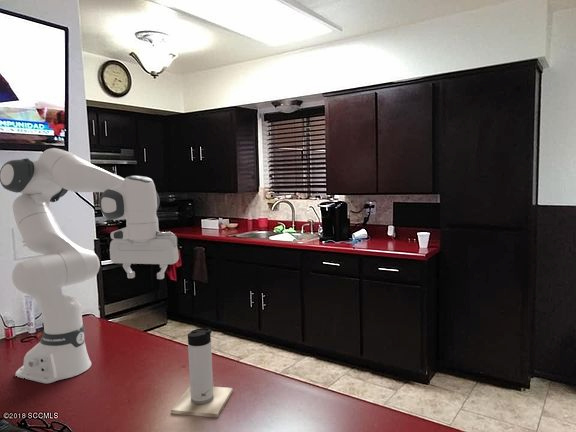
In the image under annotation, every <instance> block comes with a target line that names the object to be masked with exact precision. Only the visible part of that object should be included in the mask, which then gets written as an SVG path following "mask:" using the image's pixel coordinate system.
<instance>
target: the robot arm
mask: <svg viewBox="0 0 576 432" xmlns="http://www.w3.org/2000/svg"><path fill="white" fill-rule="evenodd" d="M0 184H1V186H2V187H3V188H4V189H5V190H7V191H10V192H13V193H16V194H18V193H20V195H19V196H17V197H16V198H15V199H14V201H13V203H12V212H13V217H14V220H15V224H16V226H17V229H18V231H19V233H20V235H21V238H22V240H23V242H24V245H25V246H26V247H27V248H28V250H30V251H32V252H34V253H36V254H41V255H39V256H33V257H31V258H27V259H25V260H22V261H20V262H18V263H16V264H15V266H14V268H13V270H12V274H11V280H12V283H13V285H14V286H15V288H16V290H18V291H20V292H21V293H23V294H25V295H28V296H29V297H31V298H32V299H34V301H35V302H36V303H37V305H38V306H39V309H40V311H41V315H42V322H43V330H42V331H41V332H38V333H36V335H37V336H36V338H40V337H41V338H40V341H39V342H38V343H37V344H36V345H34V346H33V347H32V348H31V349H30V350H28V351H27V352H26V353H25V355H24V357H23V365H22V366H21V367H19V368H18V369H17V370H16V372H15V375H14V376H15V377H16V376H17V378H21V379H24V378H25V380H30V381H34V382H38V383H42V384H51V383H55V382H56V381H60V380H64V379H69V378H73V377H75V376H78V375H81V374H82V373H84V372H86V371H88V370H89V369H90V368H91V367H92V361H91V359H90V357H89V354H88V350H87V349H88V348H87V346H86V341H85V339H86V331H85V324H84V323H83V315H82V305H81V302H80V301H79V300H78V299H77V298H76V297H73V296H69V295H66V294H65V295H64V294H63V291H62V288H63V287H67V286H71V285H76V284H80V283H83V282H86V281H87V280H91V279H92V278H94V277H97V275H98V273H99V271H100V267H101V264H100V259H99V257H98V255H97V254H96V253H95V252H94V250H91V249H89V248H84V247H83V246H80V245H78V243H76V242H74V241H73V240H71V239H70V238H68V236H67V235H66V234H65V233H64V232H63V230H62V228H61V227H60V225H59V223H58V221H57V219H56V217H55V215H54V213H53V211H52V210H51V207H50V203H55V202H56V203H57V202H58V201H59V200H60V198H62V197H64V196H65V195H66V194H67V193H68V191H69V192H73V193H102V194H101V196H100V199H99V207H100V211H101V213H102V215H104V216H105V218H107V219H109V220H113V221H119V220H126V221H125V222H126V225H125V227H121V228H120V229H117V230H114V231H112V232H110V239H111V241H110V243H109V259H110V261H111V262H112V263H113V264H122V268H123V269H124V271H125V272H126V276H127V277H126V278H128V279H134V278H135V277H136V272H135V271H134V270H133V269H132V268H131V265H132V264H133V265H137V264H139V265H142V264H143V265H159V268H160V271H159V272H157V273H156V279H157V280H163V279H165V273H166V270H167V268H168V267H169V266H168V265H174V264H176V263H178V261H179V259H180V255H179V249H178V237H177V235H176V234H174V233H173V232H171V231H165V232H164V231H160V228H159V217H158V215H157V211H158V209H159V207H160V196H159V194H158V191H157V190H156V185H155V183H154V180H153V179H152V178H150V177H148V176H143V175H129V176H126V177H125V178H124V177H122V176H120V175H117V174H115V173H113V172H110V171H108V170H105V169H104V168H101V167H99V166H97V165H95V164H93V163H90V162H89V161H87V160H85V159H83V158H81V157H79V156H78V155H75V154H74V153H72V152H70V151H67V150H64V149H60V148H56V147H52V148H47V149H46V150H44V151H43V152H41V154H40V156H39V158H38V159H37V160H30V159H29V158H21V159H11V160H8V161H7V162H5V163H4V164H3V165H2V166H1V168H0Z"/></svg>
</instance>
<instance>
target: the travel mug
mask: <svg viewBox="0 0 576 432" xmlns="http://www.w3.org/2000/svg"><path fill="white" fill-rule="evenodd" d="M212 332H213V331H212V329H210V328H209V327H202V328H196V329H193V330H192V331H191V330H190V332H189V333H187V351H188V353H187V354H188V356H187V357H188V371H189V373H188V375H189V386H190V394H191V402H192V403H194V404H198V405H202V404H206V403H209V402H210V401H212V399H213V397H214V394H213V387H214V376H213V375H214V373H213V355H212V354H213V353H212V351H213V350H212V337H211V334H212Z"/></svg>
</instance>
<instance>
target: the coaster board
mask: <svg viewBox="0 0 576 432" xmlns="http://www.w3.org/2000/svg"><path fill="white" fill-rule="evenodd" d="M233 390H234V389H233V387H223V386H213V394H214V397H213V399H212V401H210V402H209V403H206V404H202V405H198V404H194V403H192V402H191V394H190V385H189V386H188V388H187V389H186V390H185V391H184V393H183V394H182V395H181V397H179V399H178V401H176V403H175V404H174V406H173V407H171V409H170V412H171V414H173V415H185V416H195V417H208V418H209V417H210V418H219V416H220V414H221V412H222V411H223V409H224V408H225V405H226V404H227V402H228V401H229V398H231V395H232V393H233Z"/></svg>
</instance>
